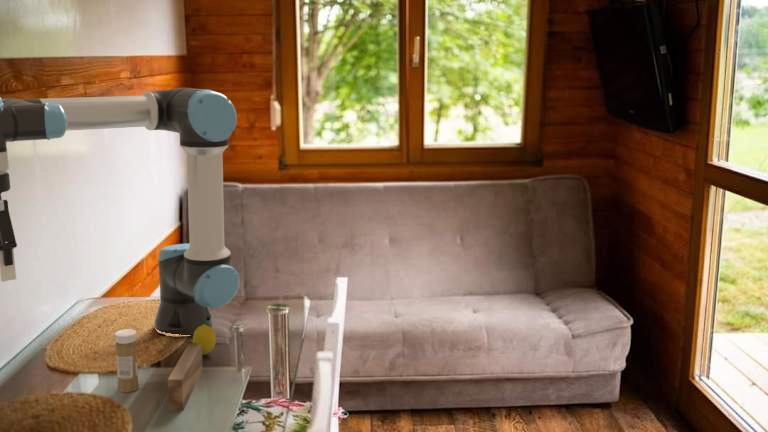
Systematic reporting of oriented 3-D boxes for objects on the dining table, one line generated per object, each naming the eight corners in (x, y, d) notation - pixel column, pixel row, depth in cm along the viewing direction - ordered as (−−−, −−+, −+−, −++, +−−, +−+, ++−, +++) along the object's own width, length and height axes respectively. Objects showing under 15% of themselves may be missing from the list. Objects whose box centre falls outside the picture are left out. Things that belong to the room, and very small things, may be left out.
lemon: (205, 348, 198) (204, 319, 196) (220, 354, 195) (220, 324, 193) (188, 355, 193) (187, 325, 191) (203, 361, 190) (202, 330, 188)
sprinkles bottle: (143, 386, 176) (140, 330, 173) (130, 394, 171) (127, 337, 168) (125, 383, 177) (123, 327, 174) (113, 391, 173) (110, 334, 170)
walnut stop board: (168, 410, 165) (167, 379, 163) (189, 371, 184) (189, 343, 183) (183, 410, 165) (182, 379, 163) (202, 371, 184) (201, 343, 183)
